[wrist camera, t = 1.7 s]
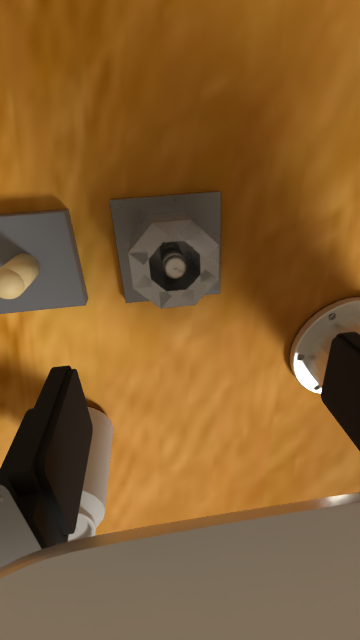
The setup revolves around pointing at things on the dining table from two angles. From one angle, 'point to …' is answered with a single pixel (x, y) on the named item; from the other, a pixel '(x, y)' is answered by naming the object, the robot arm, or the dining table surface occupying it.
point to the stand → (168, 254)
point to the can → (95, 477)
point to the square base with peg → (39, 262)
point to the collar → (199, 268)
